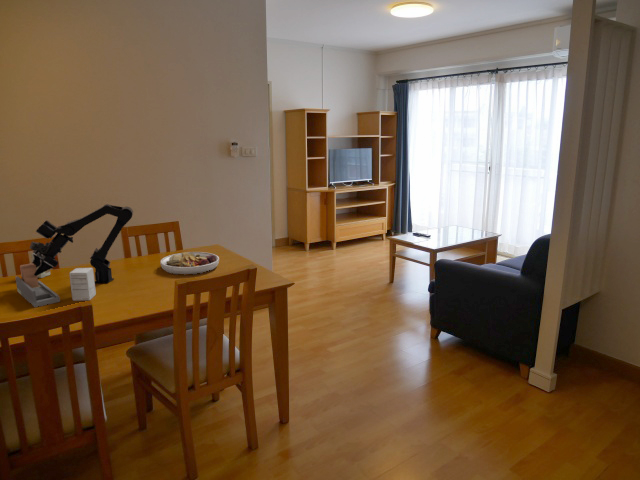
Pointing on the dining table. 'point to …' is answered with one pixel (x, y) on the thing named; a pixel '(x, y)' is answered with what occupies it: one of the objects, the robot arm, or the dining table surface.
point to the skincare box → (43, 272)
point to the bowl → (189, 262)
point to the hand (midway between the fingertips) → (32, 272)
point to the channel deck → (37, 293)
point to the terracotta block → (29, 275)
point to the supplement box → (82, 284)
